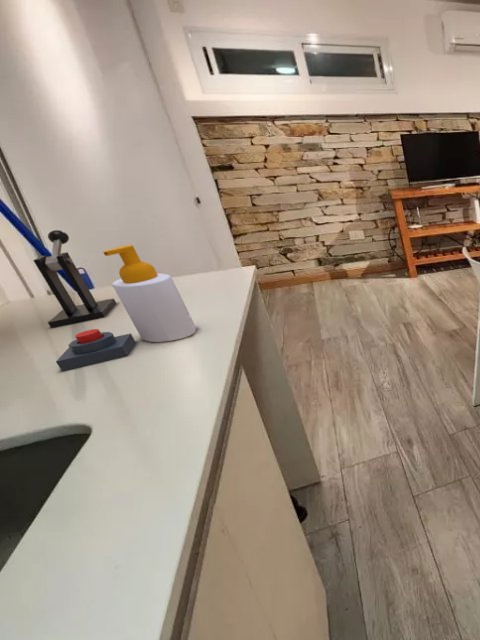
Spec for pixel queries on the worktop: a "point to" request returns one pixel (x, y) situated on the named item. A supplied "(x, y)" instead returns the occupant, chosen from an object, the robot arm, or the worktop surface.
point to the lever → (56, 249)
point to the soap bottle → (151, 299)
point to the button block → (95, 351)
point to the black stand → (70, 311)
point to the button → (88, 336)
